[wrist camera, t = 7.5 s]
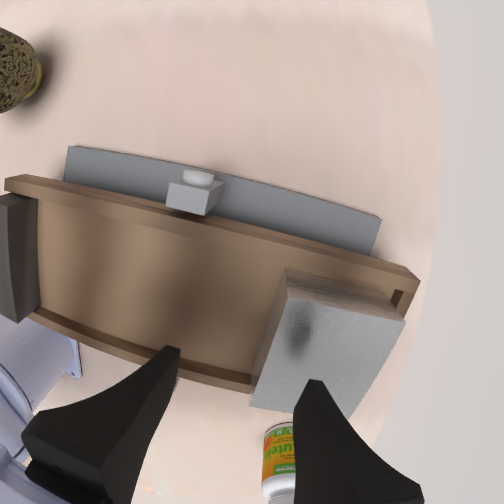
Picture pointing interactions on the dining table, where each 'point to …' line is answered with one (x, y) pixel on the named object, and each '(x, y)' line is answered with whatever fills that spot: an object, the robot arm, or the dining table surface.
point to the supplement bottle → (279, 465)
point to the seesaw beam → (159, 276)
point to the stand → (223, 197)
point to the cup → (17, 70)
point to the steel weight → (322, 341)
